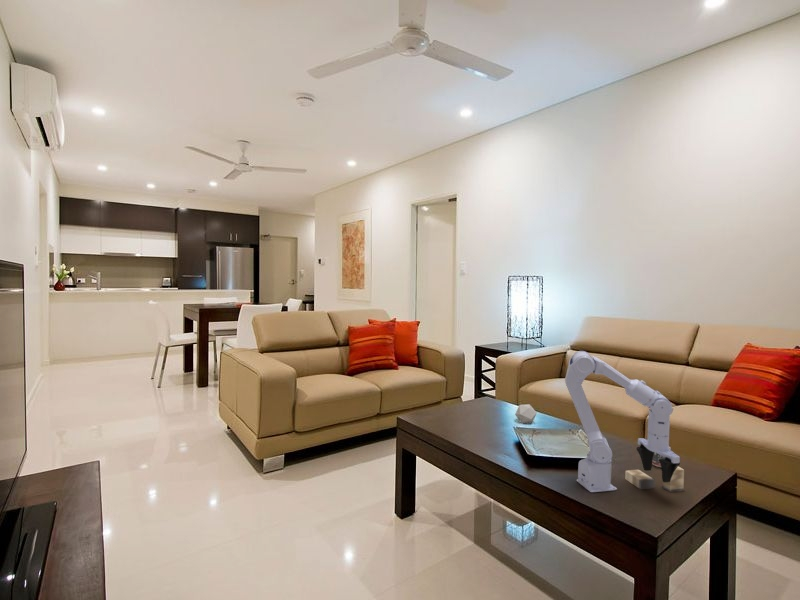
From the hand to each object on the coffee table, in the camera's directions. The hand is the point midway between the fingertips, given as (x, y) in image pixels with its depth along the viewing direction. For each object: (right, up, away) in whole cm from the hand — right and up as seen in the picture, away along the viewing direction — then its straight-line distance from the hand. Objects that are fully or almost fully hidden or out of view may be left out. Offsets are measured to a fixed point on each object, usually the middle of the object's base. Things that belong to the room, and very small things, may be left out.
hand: (656, 475), depth 130 cm
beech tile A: (-1, -4, +4) cm, 6 cm away
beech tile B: (+8, -6, +4) cm, 10 cm away
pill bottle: (+14, -5, +21) cm, 26 cm away
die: (-21, -3, +66) cm, 69 cm away
